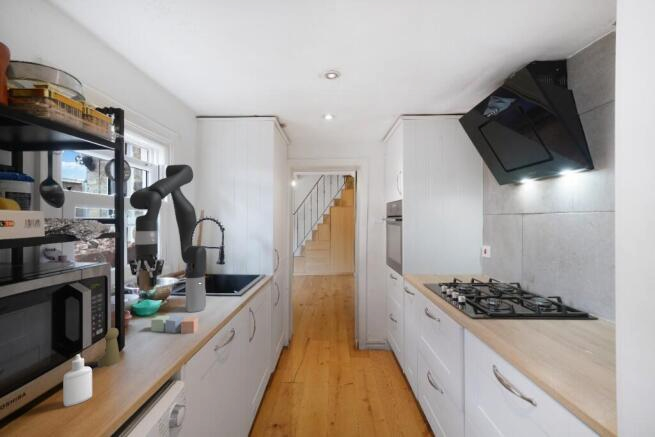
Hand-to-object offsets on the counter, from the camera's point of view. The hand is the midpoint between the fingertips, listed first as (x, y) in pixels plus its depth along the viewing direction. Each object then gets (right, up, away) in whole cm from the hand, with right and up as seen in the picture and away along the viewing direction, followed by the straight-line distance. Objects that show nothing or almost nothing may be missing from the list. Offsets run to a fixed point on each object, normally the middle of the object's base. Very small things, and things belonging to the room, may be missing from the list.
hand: (146, 286), depth 114 cm
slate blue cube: (+5, -21, +11) cm, 25 cm away
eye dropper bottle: (+5, -21, -38) cm, 44 cm away
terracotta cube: (+12, -21, +10) cm, 26 cm away
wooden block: (0, -2, 0) cm, 2 cm away
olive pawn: (-2, -21, -17) cm, 27 cm away
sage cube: (-2, -21, +12) cm, 25 cm away
